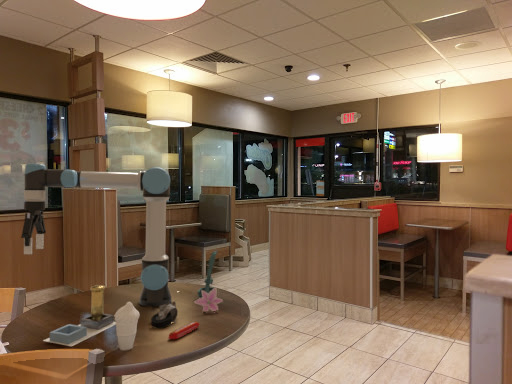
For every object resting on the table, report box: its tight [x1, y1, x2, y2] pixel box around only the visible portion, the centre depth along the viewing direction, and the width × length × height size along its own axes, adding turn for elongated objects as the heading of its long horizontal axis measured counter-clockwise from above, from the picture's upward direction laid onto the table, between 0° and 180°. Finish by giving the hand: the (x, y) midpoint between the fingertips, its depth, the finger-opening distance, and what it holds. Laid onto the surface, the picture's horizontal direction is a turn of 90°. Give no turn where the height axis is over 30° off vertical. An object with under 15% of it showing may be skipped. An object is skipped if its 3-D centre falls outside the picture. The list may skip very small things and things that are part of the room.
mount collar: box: [80, 313, 114, 330], centre depth 143 cm, size 8×8×3 cm
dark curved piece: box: [197, 250, 218, 298], centre depth 182 cm, size 14×10×25 cm
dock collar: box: [49, 323, 87, 344], centre depth 130 cm, size 8×8×3 cm
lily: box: [193, 287, 224, 312], centre depth 165 cm, size 12×12×10 cm
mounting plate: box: [42, 321, 116, 347], centre depth 137 cm, size 24×13×1 cm, turn 162°
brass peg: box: [90, 284, 106, 321], centre depth 143 cm, size 5×5×15 cm
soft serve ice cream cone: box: [113, 301, 141, 351], centre depth 125 cm, size 8×8×16 cm
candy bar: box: [167, 321, 201, 340], centre depth 139 cm, size 16×4×3 cm, turn 152°
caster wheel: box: [150, 300, 179, 329], centre depth 149 cm, size 7×11×10 cm
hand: (34, 251), depth 152 cm, fingers open, 13 cm apart
